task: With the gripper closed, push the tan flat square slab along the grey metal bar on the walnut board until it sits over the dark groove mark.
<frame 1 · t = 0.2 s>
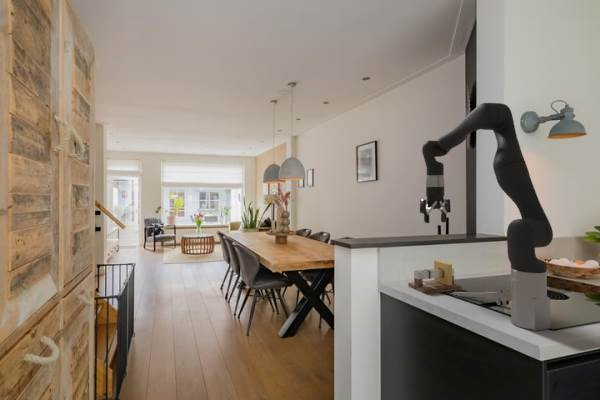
hand: (435, 222, 148), 28 cm above the worktop, tool pointing down, fingers open, 8 cm apart
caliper: (476, 301, 129), on the worktop
tan flat square slab: (442, 272, 147), point 6 cm above the worktop, slide at 0.0 cm
pipe: (434, 273, 145), on the pipe board, point 6 cm above the worktop
pipe board: (434, 287, 146), on the worktop
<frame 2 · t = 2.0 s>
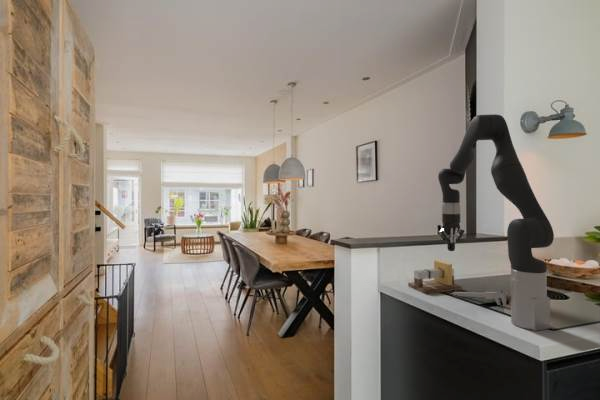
hand: (451, 250, 151), 15 cm above the worktop, tool pointing down, fingers closed
nothing on the worktop moved.
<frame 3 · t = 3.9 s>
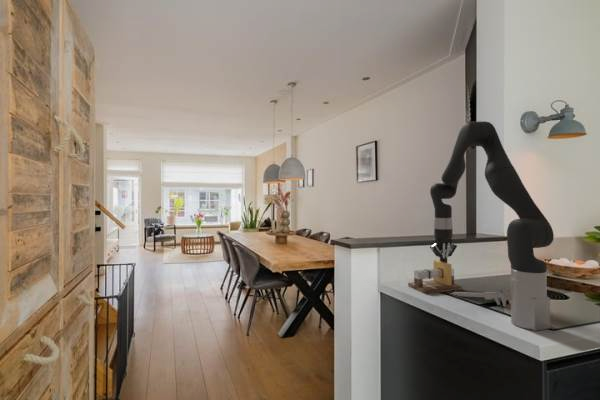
hand: (443, 265, 150), 8 cm above the worktop, tool pointing down, fingers closed
tan flat square slab: (442, 272, 147), point 6 cm above the worktop, slide at 0.3 cm, touching gripper
everything else where it was.
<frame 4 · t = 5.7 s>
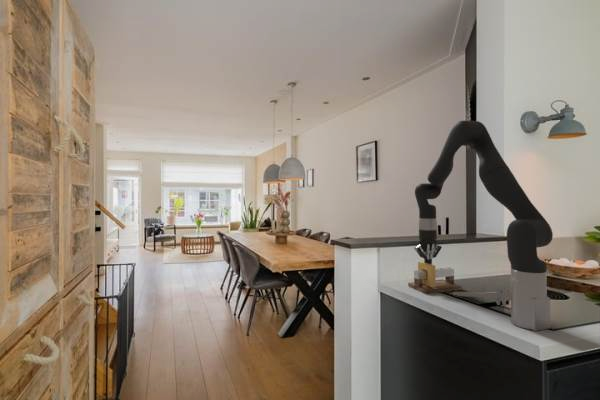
hand: (428, 267, 148), 8 cm above the worktop, tool pointing down, fingers closed
tan flat square slab: (426, 274, 144), point 6 cm above the worktop, slide at 8.4 cm, touching gripper
everything else where it was.
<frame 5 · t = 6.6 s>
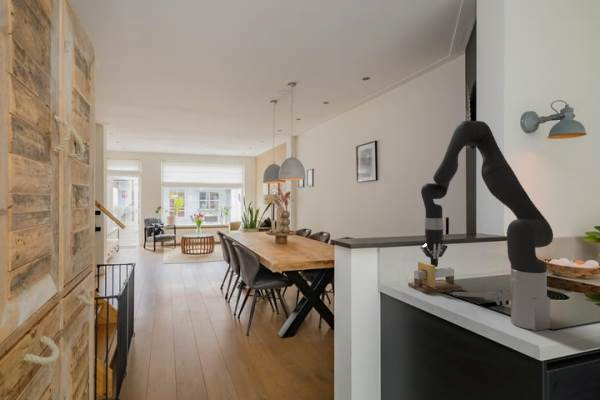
hand: (434, 266, 149), 9 cm above the worktop, tool pointing down, fingers closed
tan flat square slab: (426, 274, 144), point 6 cm above the worktop, slide at 8.5 cm
everything else where it was.
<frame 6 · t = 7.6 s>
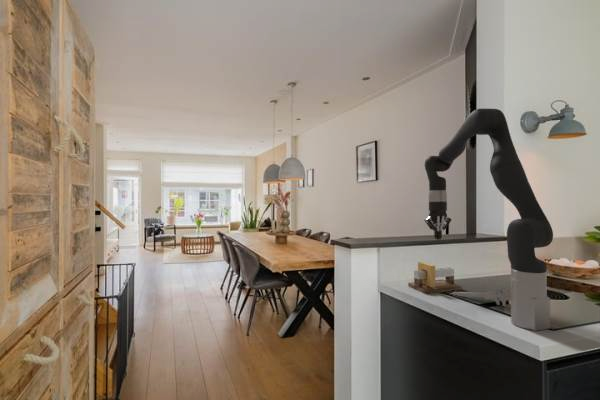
hand: (438, 239, 149), 21 cm above the worktop, tool pointing down, fingers closed
nothing on the worktop moved.
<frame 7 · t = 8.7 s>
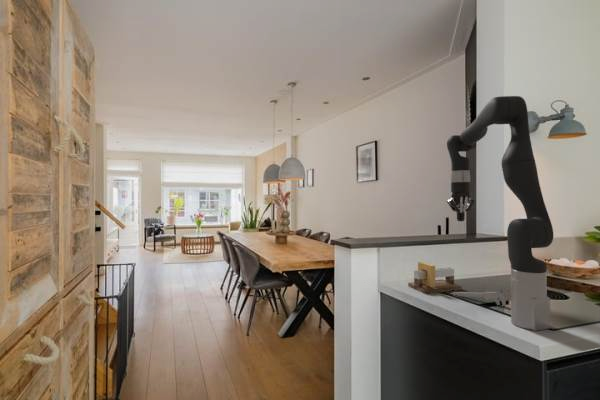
hand: (460, 221, 145), 29 cm above the worktop, tool pointing down, fingers closed
nothing on the worktop moved.
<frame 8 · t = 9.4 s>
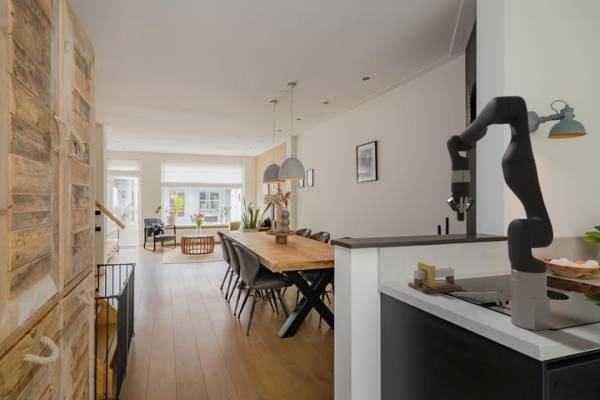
hand: (460, 221, 145), 29 cm above the worktop, tool pointing down, fingers closed
nothing on the worktop moved.
at the end: tan flat square slab slide at 8.5 cm; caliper moved 0.5 cm from its start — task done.
